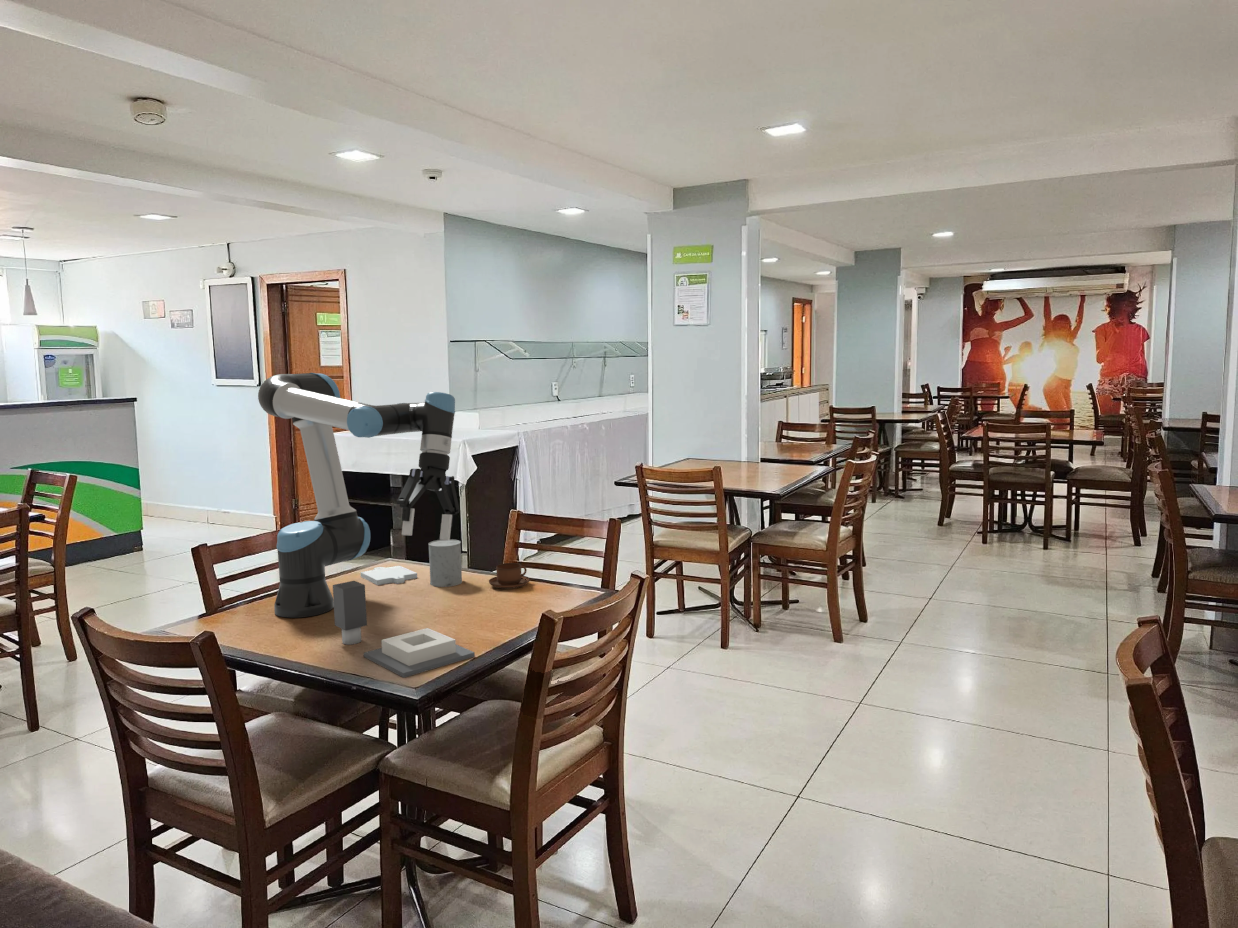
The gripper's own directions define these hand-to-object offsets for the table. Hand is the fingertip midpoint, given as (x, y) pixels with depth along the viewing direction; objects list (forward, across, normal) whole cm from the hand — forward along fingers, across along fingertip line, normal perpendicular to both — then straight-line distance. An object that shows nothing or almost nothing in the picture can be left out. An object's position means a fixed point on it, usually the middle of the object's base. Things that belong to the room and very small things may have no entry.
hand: (426, 537), depth 213 cm
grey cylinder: (+11, +39, +27) cm, 49 cm away
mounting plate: (+12, +36, +47) cm, 60 cm away
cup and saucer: (+11, +46, +8) cm, 47 cm away
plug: (+26, -10, +10) cm, 30 cm away
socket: (+28, -10, -11) cm, 32 cm away
